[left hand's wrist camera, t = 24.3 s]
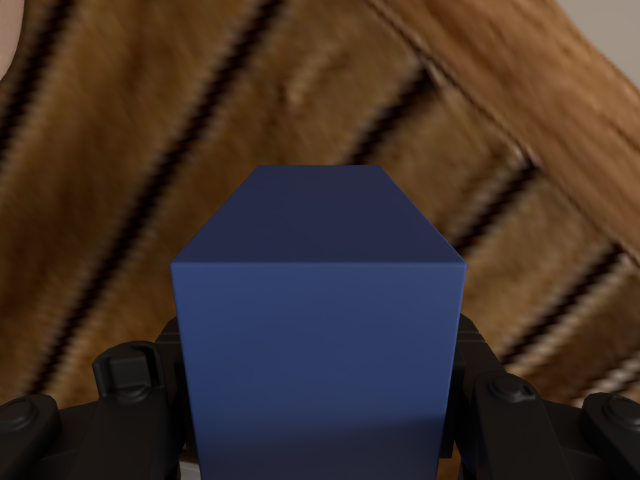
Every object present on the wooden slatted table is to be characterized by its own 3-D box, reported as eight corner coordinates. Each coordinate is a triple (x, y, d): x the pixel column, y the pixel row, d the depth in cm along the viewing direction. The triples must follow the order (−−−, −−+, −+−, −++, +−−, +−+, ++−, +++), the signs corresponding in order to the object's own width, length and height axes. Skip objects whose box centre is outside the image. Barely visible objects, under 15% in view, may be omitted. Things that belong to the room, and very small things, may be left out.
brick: (380, 164, 15) (469, 263, 6) (370, 340, 18) (422, 585, 9) (257, 164, 15) (167, 263, 6) (267, 341, 18) (215, 586, 9)
